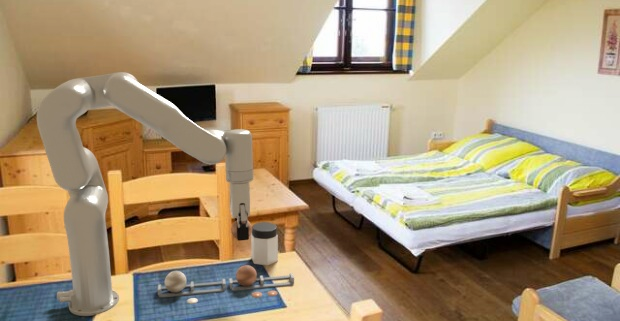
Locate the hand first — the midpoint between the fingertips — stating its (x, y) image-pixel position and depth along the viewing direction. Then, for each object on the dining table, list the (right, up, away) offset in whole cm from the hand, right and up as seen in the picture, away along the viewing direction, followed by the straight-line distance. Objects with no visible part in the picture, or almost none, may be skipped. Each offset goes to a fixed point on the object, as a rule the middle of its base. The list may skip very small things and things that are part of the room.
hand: (241, 234), depth 145 cm
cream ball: (-19, -16, 0) cm, 25 cm away
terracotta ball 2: (+1, -15, +4) cm, 16 cm away
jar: (+4, -12, +21) cm, 25 cm away
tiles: (-3, -18, -3) cm, 18 cm away
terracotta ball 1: (0, -1, 0) cm, 1 cm away
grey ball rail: (-5, -16, +3) cm, 17 cm away
